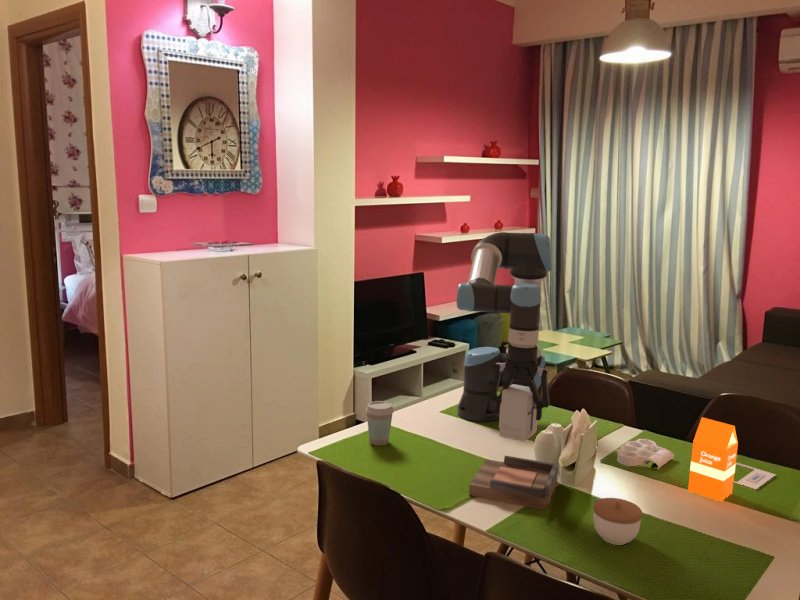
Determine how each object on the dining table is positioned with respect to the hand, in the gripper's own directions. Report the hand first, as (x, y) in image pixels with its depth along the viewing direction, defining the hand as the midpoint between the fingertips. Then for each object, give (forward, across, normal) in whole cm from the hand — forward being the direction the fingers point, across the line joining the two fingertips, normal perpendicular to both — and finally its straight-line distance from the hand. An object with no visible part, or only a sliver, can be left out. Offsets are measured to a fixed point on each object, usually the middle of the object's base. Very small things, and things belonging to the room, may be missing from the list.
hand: (517, 428), depth 186 cm
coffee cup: (+17, -45, +15) cm, 50 cm away
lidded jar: (+17, +27, -17) cm, 36 cm away
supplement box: (+2, 0, 0) cm, 2 cm away
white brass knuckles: (+17, +31, +36) cm, 51 cm away
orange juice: (+17, +49, +19) cm, 55 cm away
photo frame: (+17, +56, +36) cm, 69 cm away
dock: (+17, 0, 0) cm, 17 cm away
